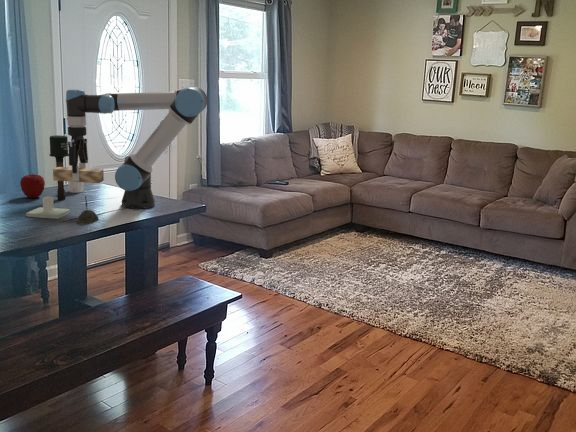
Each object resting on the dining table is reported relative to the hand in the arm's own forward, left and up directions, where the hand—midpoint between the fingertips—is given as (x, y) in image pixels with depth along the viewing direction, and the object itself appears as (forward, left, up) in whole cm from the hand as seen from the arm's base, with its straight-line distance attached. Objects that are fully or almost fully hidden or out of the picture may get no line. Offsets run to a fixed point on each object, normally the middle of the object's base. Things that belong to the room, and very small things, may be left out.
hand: (79, 178), depth 261 cm
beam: (0, 0, -1) cm, 1 cm away
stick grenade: (+17, -17, -14) cm, 28 cm away
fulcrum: (+9, +11, -14) cm, 20 cm away
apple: (+31, -17, -14) cm, 38 cm away
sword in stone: (-10, +16, -15) cm, 24 cm away
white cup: (+19, -36, -14) cm, 43 cm away
